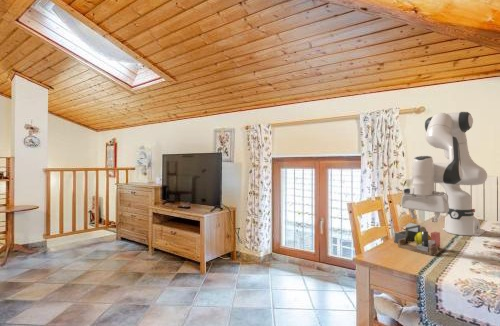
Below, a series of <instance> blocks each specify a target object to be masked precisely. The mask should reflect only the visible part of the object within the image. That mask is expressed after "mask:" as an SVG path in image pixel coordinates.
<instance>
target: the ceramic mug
mask: <svg viewBox="0 0 500 326" xmlns="http://www.w3.org/2000/svg"><path fill="white" fill-rule="evenodd" d="M416 225H418V224H416V223H413V222H409V223H407V224H406V226H405V228H407V227H411V226H416ZM409 230H410V231H414V232H418V227H417V228H413V229H409ZM421 231H427V229H426V227H425V226H423V225H420V232H421Z"/></svg>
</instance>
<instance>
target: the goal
mask: <svg viewBox="0 0 500 326" xmlns="http://www.w3.org/2000/svg"><path fill="white" fill-rule="evenodd" d="M420 226H421V225H420V224H417V225H416V226H411V227H407V228H406V227H404V228H405V230H400V231H397V232H394V233H393V243H394V244H398V240H399V239H403V238H405V239H406V244H409V241H412V242H416V241H415V235H416V234H417V233H419V232H420ZM417 227H418V232H414V231H410V230H409V229H413V228H417Z"/></svg>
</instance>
